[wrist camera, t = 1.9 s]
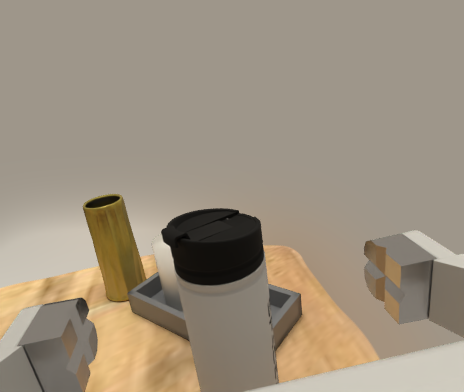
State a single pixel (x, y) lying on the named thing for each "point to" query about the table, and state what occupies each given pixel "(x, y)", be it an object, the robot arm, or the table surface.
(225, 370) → the travel mug
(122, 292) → the vase
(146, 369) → the table surface
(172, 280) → the white cylinder
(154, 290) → the caddy
